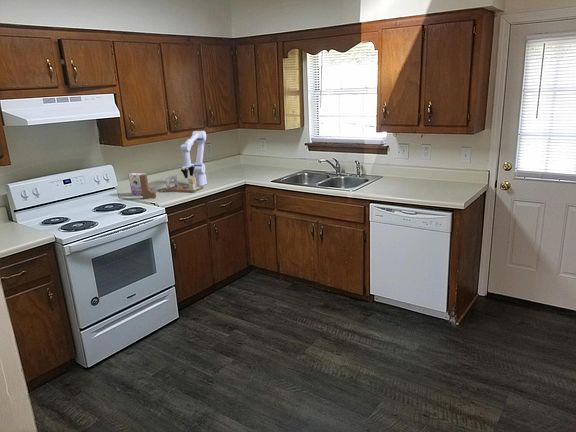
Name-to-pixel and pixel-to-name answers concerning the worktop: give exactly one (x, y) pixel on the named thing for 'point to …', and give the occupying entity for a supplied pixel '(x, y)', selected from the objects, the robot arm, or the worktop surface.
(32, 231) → the worktop surface
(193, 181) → the birch block
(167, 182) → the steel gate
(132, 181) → the candy box
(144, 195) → the brown boot
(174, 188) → the puzzle board
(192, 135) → the robot arm
